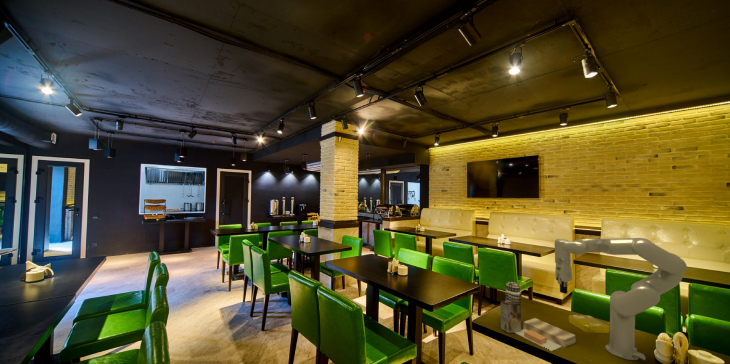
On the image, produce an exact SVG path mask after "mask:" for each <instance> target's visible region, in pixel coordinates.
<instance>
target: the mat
mask: <svg viewBox="0 0 730 364" xmlns="http://www.w3.org/2000/svg"><path fill="white" fill-rule="evenodd" d="M526 331H528V330H526V329H521V331H519V332H514V334H516V335H518V336H520V337H523V338H524V339H526V340H527V341H529V342H532V343H534V344H536V345H538V346H539V347H542V348H544V347H545V348H544V349H546V348H547V349H546V350H548V349H549V350H548V351H549V352H554V351H556V350H558V349H560V348H563V347H562V346H560V345H558V344H556V343H554V342H552V341H550V340H548V339H547V342H546V343H543V344H541V345H540V344H538V343H536V342H534V341H532V340H530V339H528V338H526V337H524V332H526ZM553 350H554V351H553Z"/></svg>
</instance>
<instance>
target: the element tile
mask: <svg viewBox="0 0 730 364" xmlns="http://www.w3.org/2000/svg"><path fill="white" fill-rule="evenodd" d="M568 322H569V324H572V325H573V326H575V327H576V328H578V329H579V330H581V331H583V332H585V333H588V334H610V325H608V324H606V323H604V322H602V321H601V320H598V319H596V318H595V317H593V316H591V315H588V314H587V315H586V314H585V315H583V314H569V315H568Z"/></svg>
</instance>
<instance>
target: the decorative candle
mask: <svg viewBox="0 0 730 364" xmlns="http://www.w3.org/2000/svg"><path fill="white" fill-rule="evenodd" d="M505 285H506V287H505V292H504V301H507V300H513V301H516V302H518V303H520V304H521V303H522V299H521V298H522V292H521V286H520V285H519V283H517V282H515V281H508V282H507V283H506V284H505Z"/></svg>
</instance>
